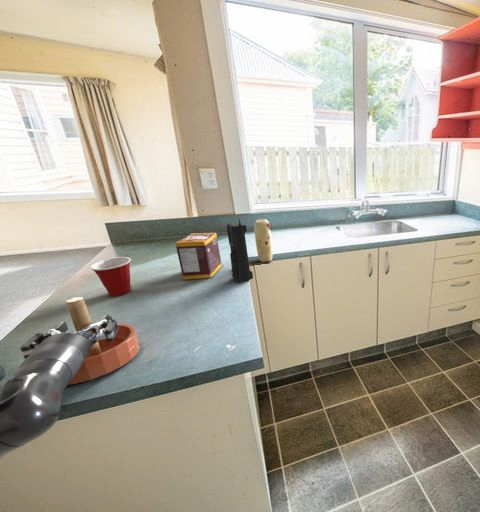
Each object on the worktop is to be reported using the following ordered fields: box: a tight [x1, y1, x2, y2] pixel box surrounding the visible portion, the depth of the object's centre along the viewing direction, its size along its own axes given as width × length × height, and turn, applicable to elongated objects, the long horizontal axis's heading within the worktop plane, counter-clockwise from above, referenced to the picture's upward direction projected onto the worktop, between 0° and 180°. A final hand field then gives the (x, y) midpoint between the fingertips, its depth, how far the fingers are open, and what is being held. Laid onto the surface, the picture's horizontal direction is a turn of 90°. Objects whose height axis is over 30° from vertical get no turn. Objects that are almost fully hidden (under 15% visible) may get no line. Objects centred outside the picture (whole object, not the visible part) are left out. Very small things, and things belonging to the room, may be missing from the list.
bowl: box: [67, 323, 141, 386], centre depth 70 cm, size 17×17×6 cm
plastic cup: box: [89, 256, 132, 297], centre depth 105 cm, size 11×11×12 cm
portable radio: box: [226, 218, 254, 283], centre depth 117 cm, size 8×6×25 cm
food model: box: [253, 218, 273, 263], centre depth 140 cm, size 10×7×20 cm
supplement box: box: [174, 232, 223, 281], centre depth 124 cm, size 10×15×16 cm
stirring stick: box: [65, 296, 102, 358], centre depth 68 cm, size 3×3×16 cm
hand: (86, 321), depth 69 cm, fingers open, 7 cm apart
